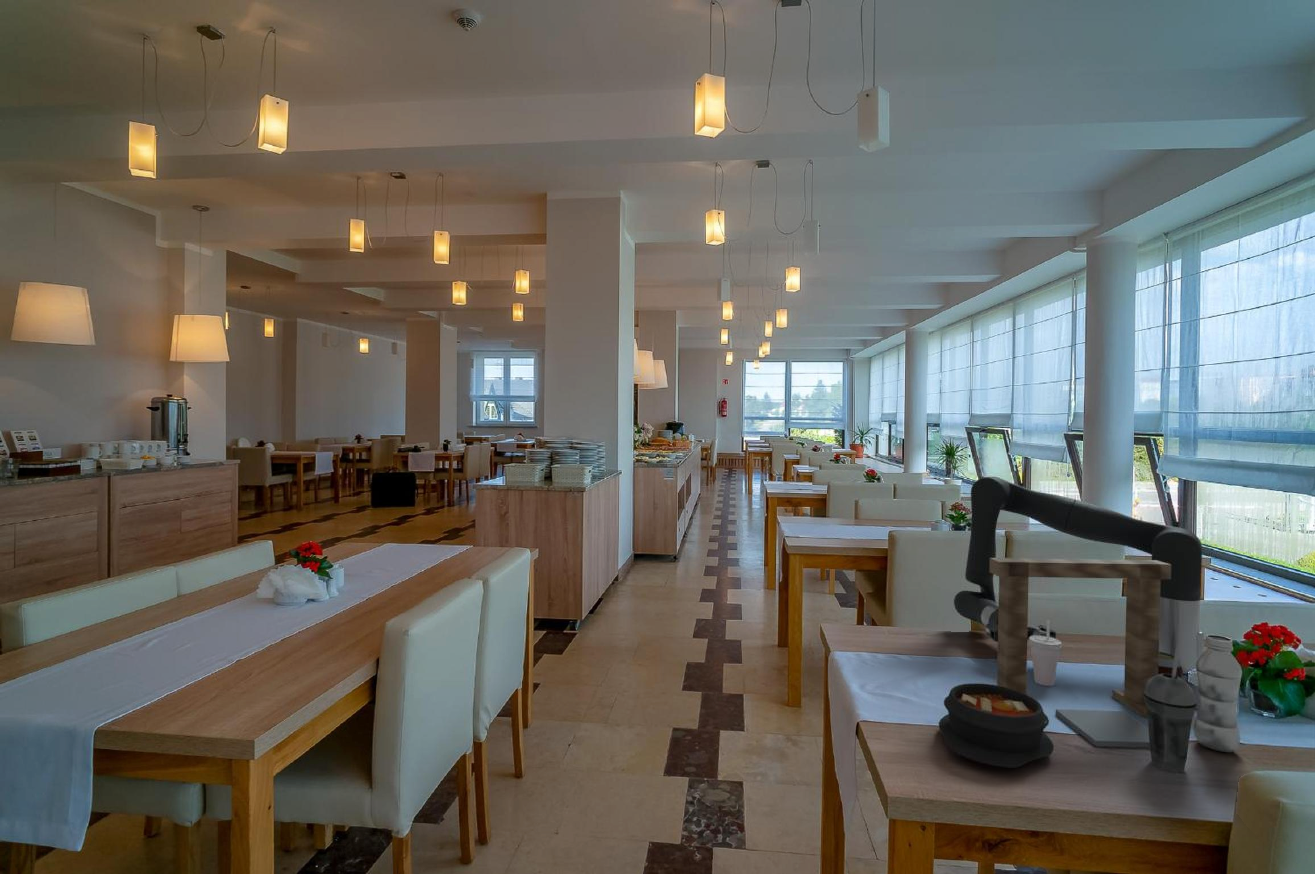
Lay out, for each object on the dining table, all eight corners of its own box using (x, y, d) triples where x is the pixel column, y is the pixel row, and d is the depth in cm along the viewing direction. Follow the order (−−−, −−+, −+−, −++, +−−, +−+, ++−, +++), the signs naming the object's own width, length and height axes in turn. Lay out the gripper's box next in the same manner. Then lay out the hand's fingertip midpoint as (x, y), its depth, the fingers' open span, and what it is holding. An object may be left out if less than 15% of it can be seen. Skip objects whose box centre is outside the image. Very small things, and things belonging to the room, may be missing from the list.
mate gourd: (1169, 686, 147) (1170, 619, 147) (1192, 701, 139) (1194, 630, 139) (1132, 684, 148) (1133, 617, 148) (1153, 698, 140) (1154, 628, 140)
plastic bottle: (1228, 742, 121) (1231, 634, 121) (1247, 760, 115) (1251, 645, 114) (1186, 736, 123) (1189, 630, 123) (1202, 753, 117) (1205, 641, 116)
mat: (1122, 715, 132) (1122, 710, 132) (1169, 748, 119) (1170, 742, 119) (1055, 714, 132) (1055, 709, 132) (1095, 746, 119) (1095, 740, 119)
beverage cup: (1130, 755, 116) (1133, 642, 116) (1169, 753, 117) (1172, 641, 116) (1166, 777, 109) (1169, 657, 108) (1207, 775, 110) (1210, 656, 109)
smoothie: (1065, 689, 145) (1067, 625, 144) (1033, 686, 146) (1034, 624, 146) (1054, 678, 151) (1055, 617, 151) (1023, 675, 152) (1024, 615, 152)
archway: (1143, 697, 141) (1147, 557, 140) (1178, 718, 131) (1182, 567, 130) (980, 693, 142) (983, 554, 142) (1002, 713, 132) (1005, 565, 132)
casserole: (1040, 792, 105) (1041, 740, 104) (919, 754, 116) (920, 707, 116) (1063, 734, 124) (1064, 690, 124) (958, 707, 136) (958, 666, 135)
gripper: (974, 607, 169) (1004, 626, 152) (1031, 608, 168) (1068, 628, 152) (973, 636, 169) (1004, 659, 153) (1031, 637, 168) (1067, 660, 152)
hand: (1036, 643), depth 152 cm, fingers open, 8 cm apart
